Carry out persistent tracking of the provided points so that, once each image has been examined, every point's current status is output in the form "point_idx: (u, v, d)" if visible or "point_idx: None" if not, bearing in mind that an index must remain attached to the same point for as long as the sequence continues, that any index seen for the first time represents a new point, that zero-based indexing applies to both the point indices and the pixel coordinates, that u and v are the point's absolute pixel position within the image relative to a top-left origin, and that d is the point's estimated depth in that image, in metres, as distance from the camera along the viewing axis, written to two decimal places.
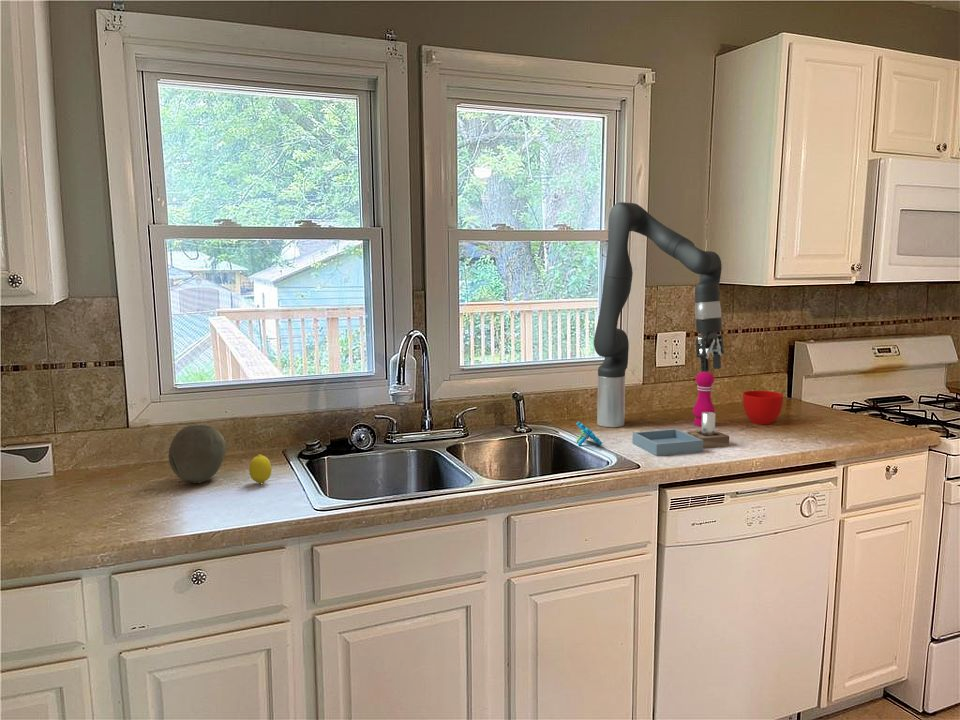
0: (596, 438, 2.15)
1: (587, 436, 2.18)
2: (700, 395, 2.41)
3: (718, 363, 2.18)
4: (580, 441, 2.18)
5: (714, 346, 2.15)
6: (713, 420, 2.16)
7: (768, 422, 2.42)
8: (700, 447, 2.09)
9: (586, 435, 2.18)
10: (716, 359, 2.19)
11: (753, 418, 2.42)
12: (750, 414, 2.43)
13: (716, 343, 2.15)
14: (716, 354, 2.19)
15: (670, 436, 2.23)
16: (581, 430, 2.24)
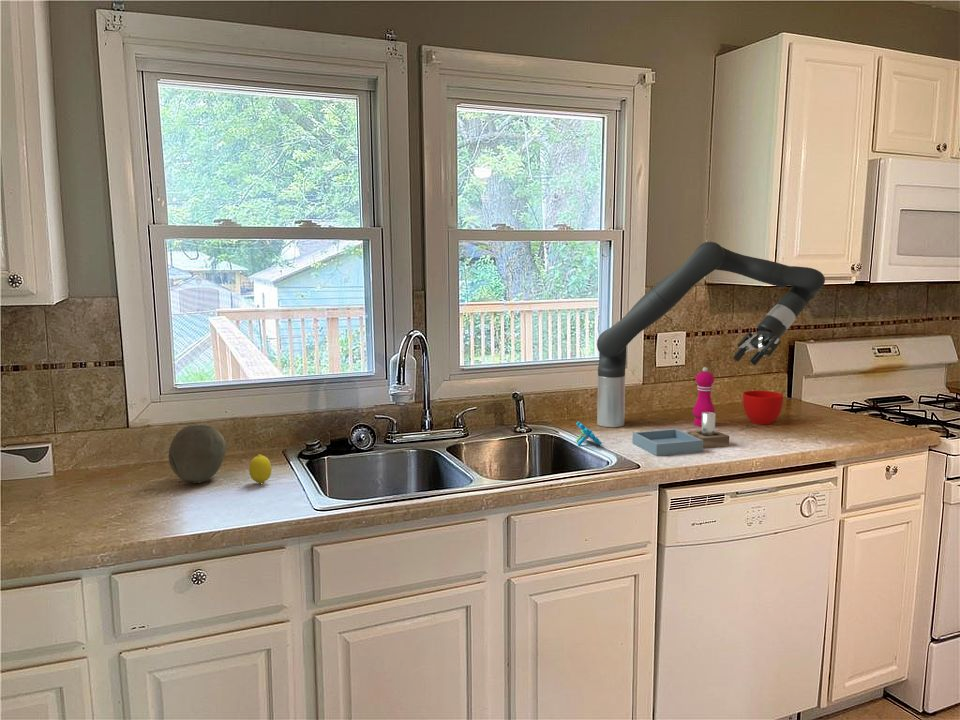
0: (595, 438, 2.14)
1: (587, 436, 2.18)
2: (700, 395, 2.41)
3: (740, 357, 2.22)
4: (580, 441, 2.18)
5: None
6: (713, 420, 2.16)
7: (768, 422, 2.42)
8: (700, 447, 2.09)
9: (586, 435, 2.18)
10: (741, 353, 2.22)
11: (753, 418, 2.42)
12: (750, 414, 2.43)
13: None
14: (744, 349, 2.23)
15: (670, 436, 2.23)
16: (581, 430, 2.24)
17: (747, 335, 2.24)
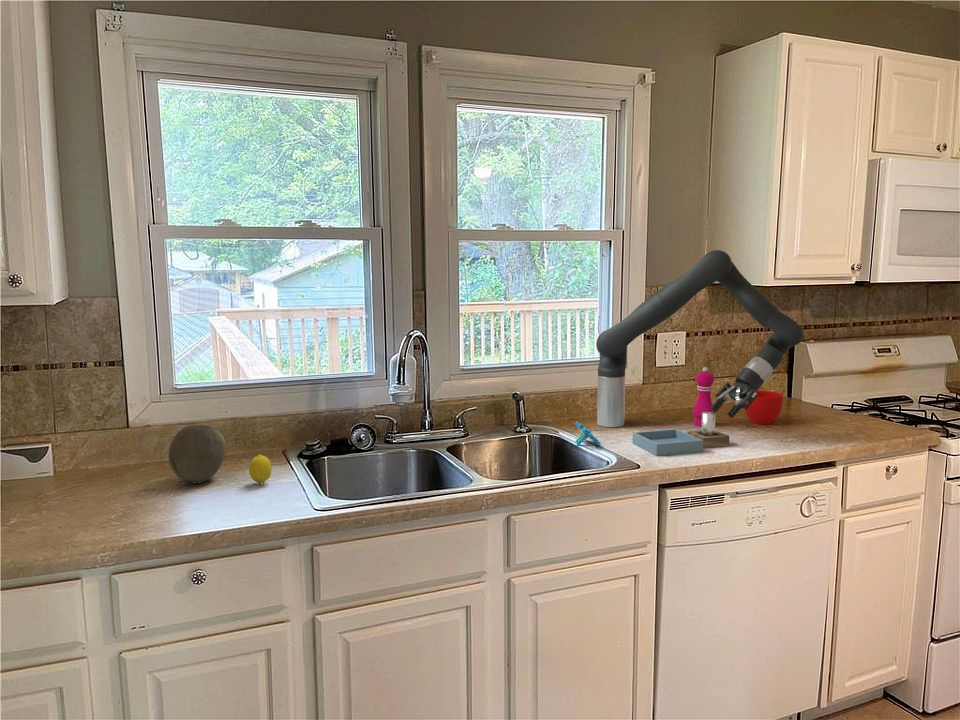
0: (594, 438, 2.14)
1: (585, 436, 2.18)
2: (700, 395, 2.41)
3: (718, 408, 2.23)
4: (578, 441, 2.18)
5: None
6: (713, 420, 2.16)
7: (768, 422, 2.42)
8: (700, 447, 2.09)
9: (584, 435, 2.18)
10: (719, 403, 2.23)
11: (753, 418, 2.42)
12: (750, 414, 2.43)
13: None
14: (722, 400, 2.23)
15: (670, 436, 2.23)
16: (581, 430, 2.24)
17: (725, 386, 2.25)
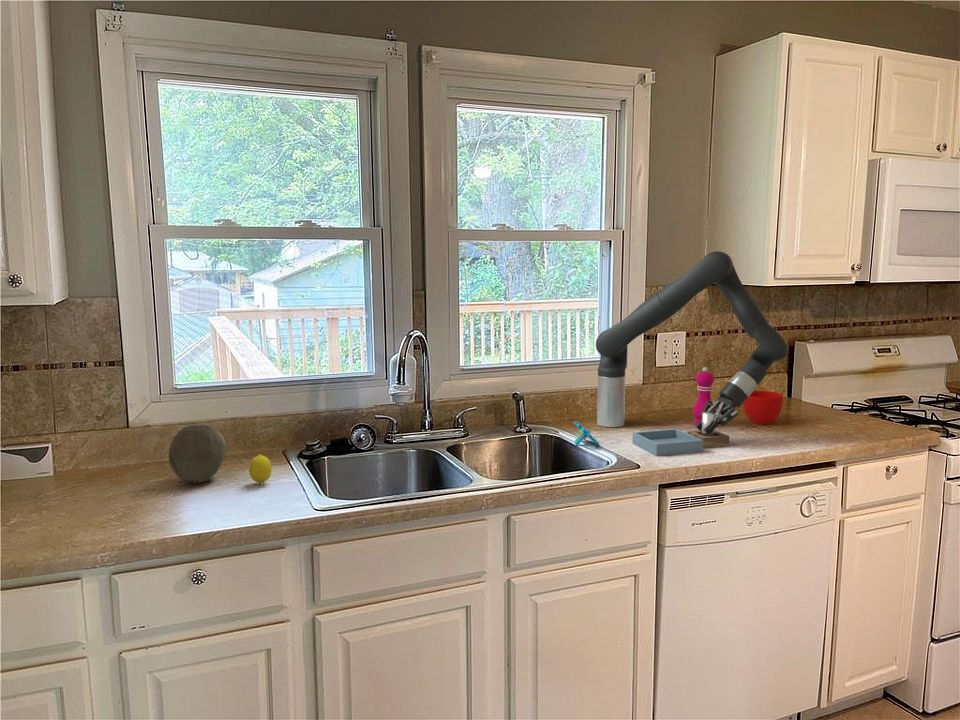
0: (592, 438, 2.14)
1: (584, 436, 2.18)
2: (700, 395, 2.41)
3: None
4: (577, 441, 2.18)
5: None
6: None
7: (768, 422, 2.42)
8: (700, 447, 2.09)
9: (583, 435, 2.18)
10: None
11: (753, 418, 2.42)
12: (750, 414, 2.43)
13: None
14: None
15: (670, 436, 2.23)
16: (580, 430, 2.24)
17: (708, 403, 2.24)
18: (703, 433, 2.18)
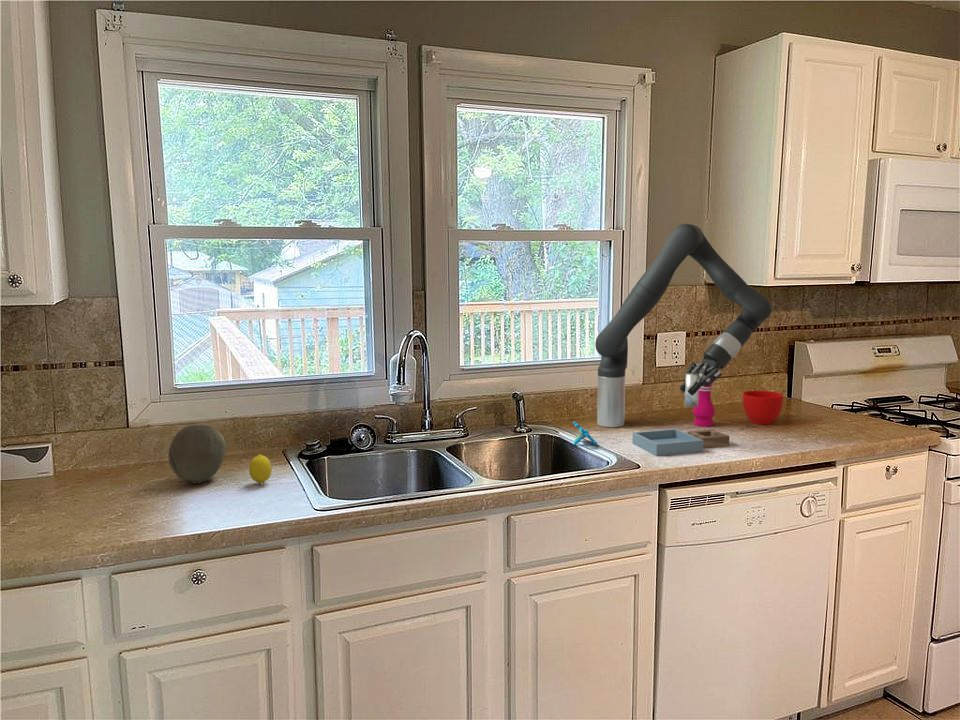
0: (590, 438, 2.14)
1: (583, 436, 2.18)
2: (700, 395, 2.41)
3: None
4: (576, 441, 2.19)
5: None
6: None
7: (768, 422, 2.42)
8: (700, 447, 2.09)
9: (582, 435, 2.18)
10: None
11: (753, 418, 2.42)
12: (750, 414, 2.43)
13: None
14: None
15: (670, 436, 2.23)
16: (580, 430, 2.24)
17: (692, 365, 2.20)
18: (686, 395, 2.15)
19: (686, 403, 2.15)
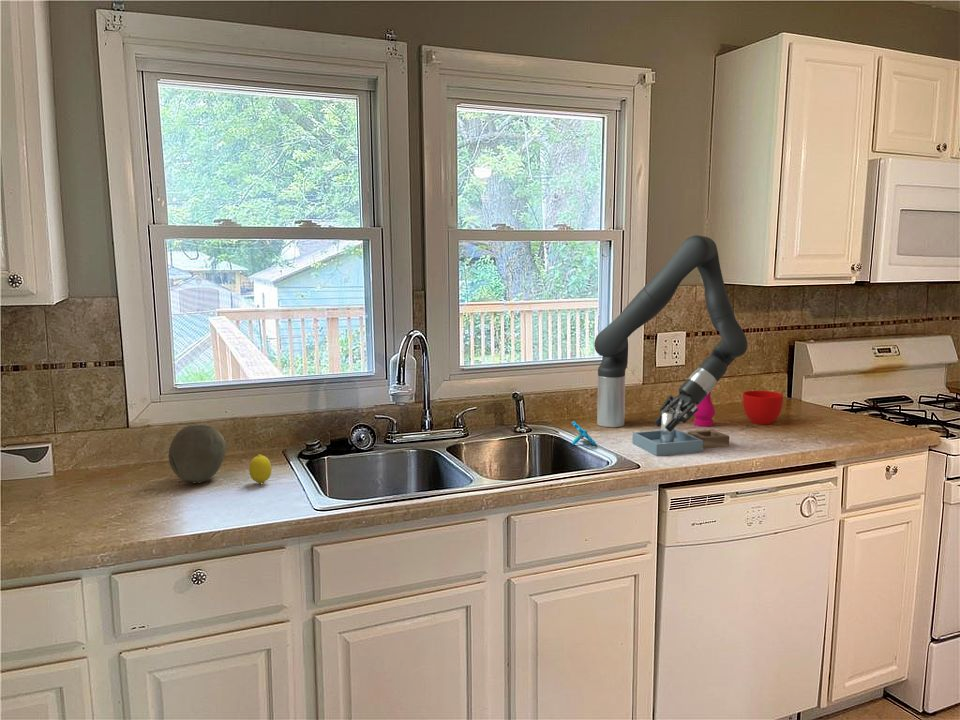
0: (588, 438, 2.14)
1: (581, 436, 2.18)
2: None
3: None
4: (574, 440, 2.19)
5: None
6: None
7: (768, 422, 2.42)
8: (700, 447, 2.09)
9: (580, 435, 2.18)
10: None
11: (753, 418, 2.42)
12: (750, 414, 2.43)
13: None
14: None
15: None
16: None
17: (668, 399, 2.20)
18: (662, 433, 2.14)
19: (662, 442, 2.14)
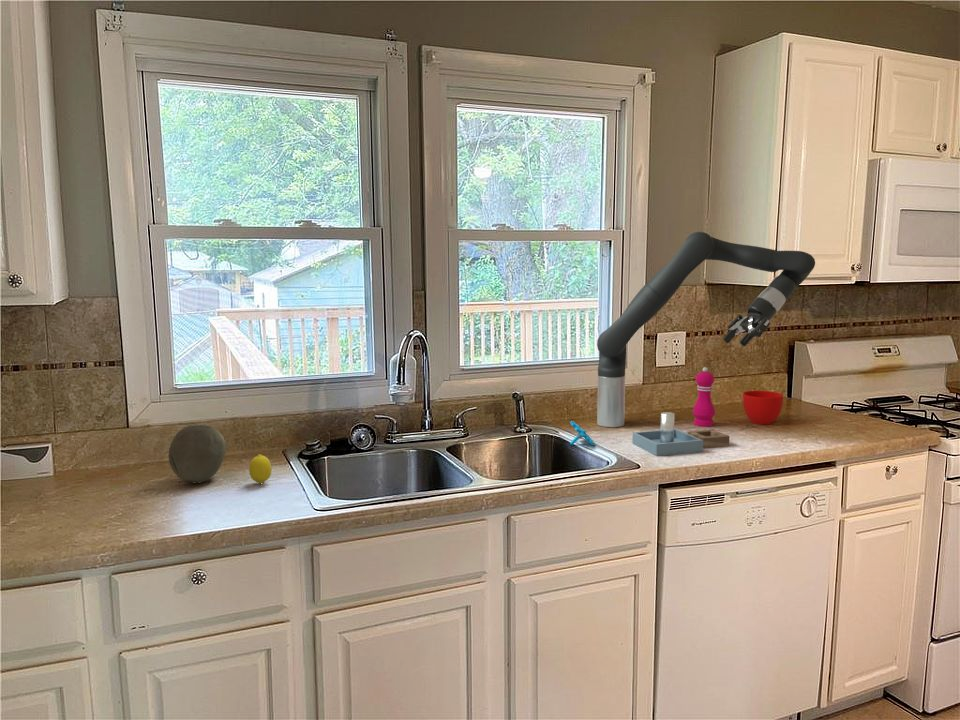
0: (586, 438, 2.15)
1: (579, 436, 2.18)
2: (700, 395, 2.41)
3: (730, 339, 2.23)
4: (572, 440, 2.19)
5: None
6: (672, 421, 2.12)
7: (768, 422, 2.42)
8: (700, 447, 2.09)
9: (578, 435, 2.18)
10: (731, 335, 2.23)
11: (753, 418, 2.42)
12: (750, 414, 2.43)
13: None
14: (734, 331, 2.23)
15: None
16: None
17: (737, 317, 2.25)
18: (662, 434, 2.14)
19: (662, 442, 2.14)
